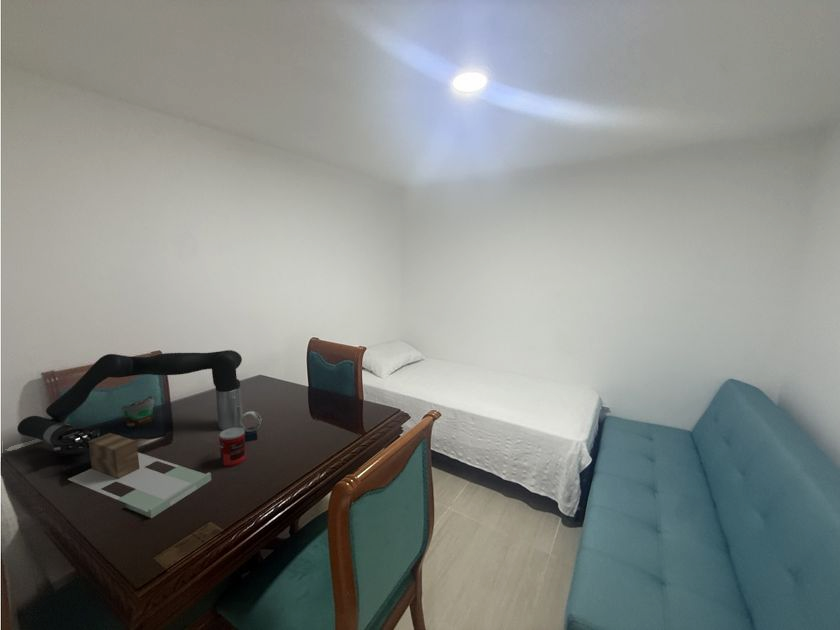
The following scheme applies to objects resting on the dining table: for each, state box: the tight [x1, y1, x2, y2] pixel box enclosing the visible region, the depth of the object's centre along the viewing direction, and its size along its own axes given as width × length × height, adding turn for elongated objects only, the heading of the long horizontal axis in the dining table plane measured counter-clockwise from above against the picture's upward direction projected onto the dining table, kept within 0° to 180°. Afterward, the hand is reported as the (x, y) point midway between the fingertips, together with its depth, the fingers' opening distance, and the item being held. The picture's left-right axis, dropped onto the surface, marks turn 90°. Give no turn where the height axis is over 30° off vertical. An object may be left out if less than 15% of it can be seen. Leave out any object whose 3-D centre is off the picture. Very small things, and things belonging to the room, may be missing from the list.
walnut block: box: [88, 432, 140, 479], centre depth 111 cm, size 14×6×10 cm, turn 70°
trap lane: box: [67, 452, 212, 519], centre depth 107 cm, size 40×18×2 cm, turn 70°
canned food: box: [218, 427, 247, 467], centre depth 119 cm, size 8×8×11 cm
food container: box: [121, 395, 155, 427], centre depth 146 cm, size 12×6×10 cm, turn 168°
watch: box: [240, 410, 262, 443], centre depth 135 cm, size 6×8×11 cm
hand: (92, 445), depth 114 cm, fingers closed
